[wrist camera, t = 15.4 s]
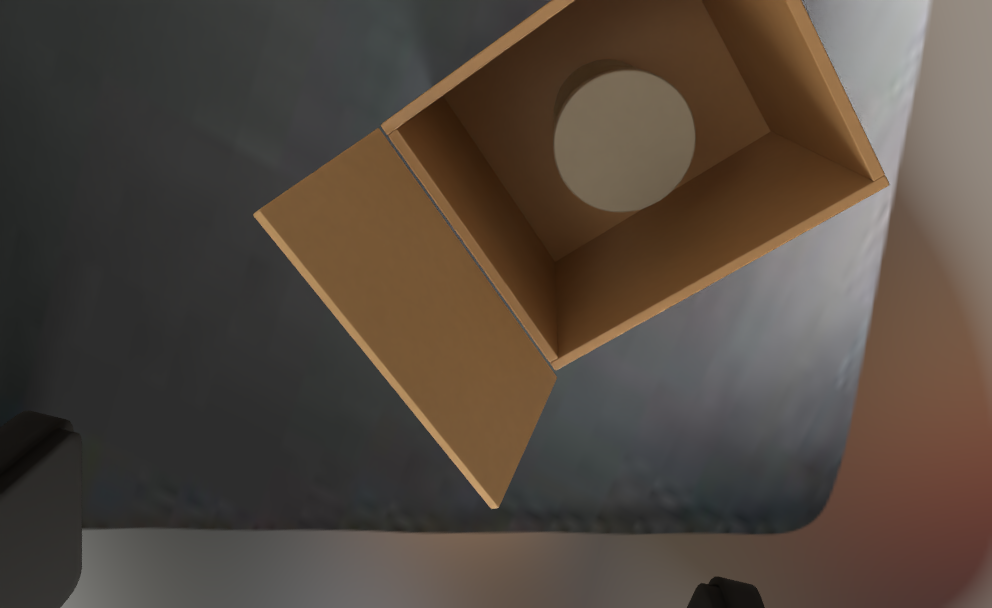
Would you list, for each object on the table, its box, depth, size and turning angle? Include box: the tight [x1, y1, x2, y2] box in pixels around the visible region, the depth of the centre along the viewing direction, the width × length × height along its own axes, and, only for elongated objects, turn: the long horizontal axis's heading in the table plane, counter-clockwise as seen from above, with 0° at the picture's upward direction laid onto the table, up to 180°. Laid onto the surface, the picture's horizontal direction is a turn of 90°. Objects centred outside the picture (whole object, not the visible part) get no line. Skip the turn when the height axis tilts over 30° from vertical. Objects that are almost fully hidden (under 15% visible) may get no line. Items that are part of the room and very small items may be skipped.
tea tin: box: [553, 59, 696, 212], centre depth 28 cm, size 5×5×9 cm
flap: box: [253, 128, 557, 509], centre depth 21 cm, size 6×11×1 cm
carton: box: [381, 0, 889, 370], centre depth 28 cm, size 13×11×11 cm
